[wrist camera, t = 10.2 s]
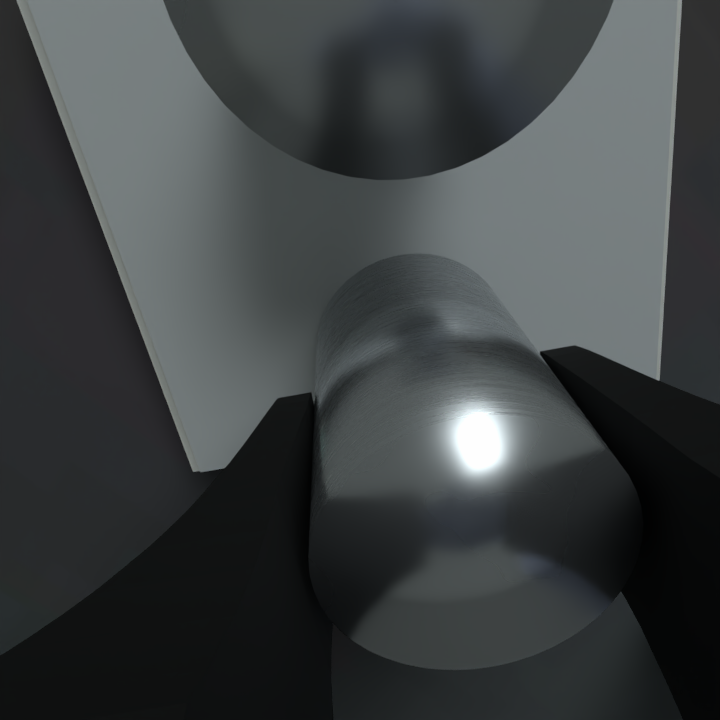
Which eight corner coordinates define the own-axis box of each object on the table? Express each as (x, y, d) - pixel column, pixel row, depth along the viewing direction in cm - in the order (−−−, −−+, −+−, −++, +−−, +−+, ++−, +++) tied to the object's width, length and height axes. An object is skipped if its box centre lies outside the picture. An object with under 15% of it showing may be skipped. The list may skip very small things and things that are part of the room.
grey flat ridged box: (617, 349, 17) (675, 407, 14) (209, 421, 18) (186, 492, 15) (633, -359, 11) (743, -511, 8) (-11, -220, 11) (-128, -317, 8)
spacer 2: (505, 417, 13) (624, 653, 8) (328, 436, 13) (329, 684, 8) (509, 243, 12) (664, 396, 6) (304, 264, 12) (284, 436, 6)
